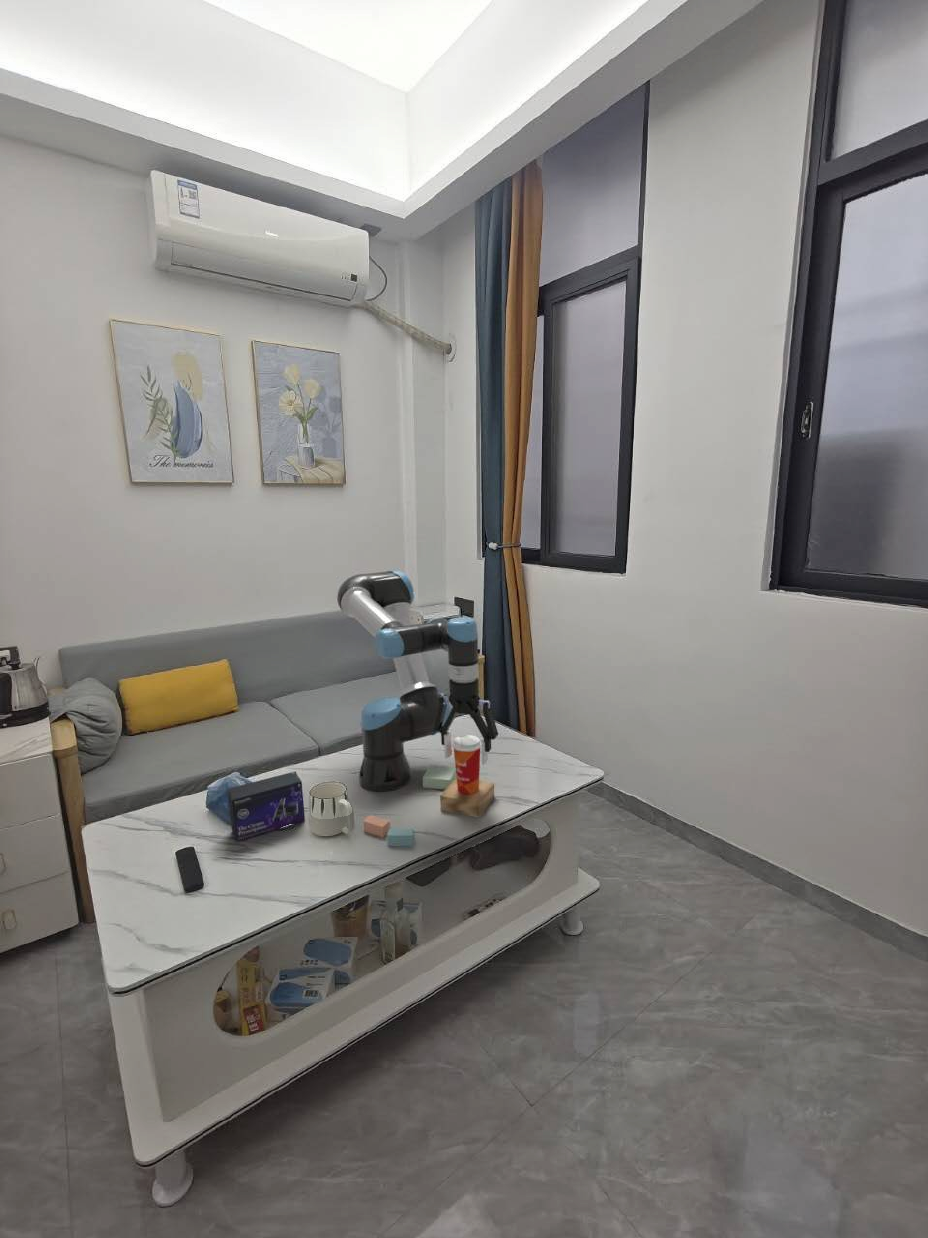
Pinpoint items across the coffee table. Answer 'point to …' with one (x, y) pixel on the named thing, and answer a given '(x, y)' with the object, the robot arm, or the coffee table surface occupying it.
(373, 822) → the brick
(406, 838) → the brick
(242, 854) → the coffee table surface
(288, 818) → the box
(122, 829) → the coffee table surface
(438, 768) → the sage pad
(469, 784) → the paper cup
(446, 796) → the oak block
